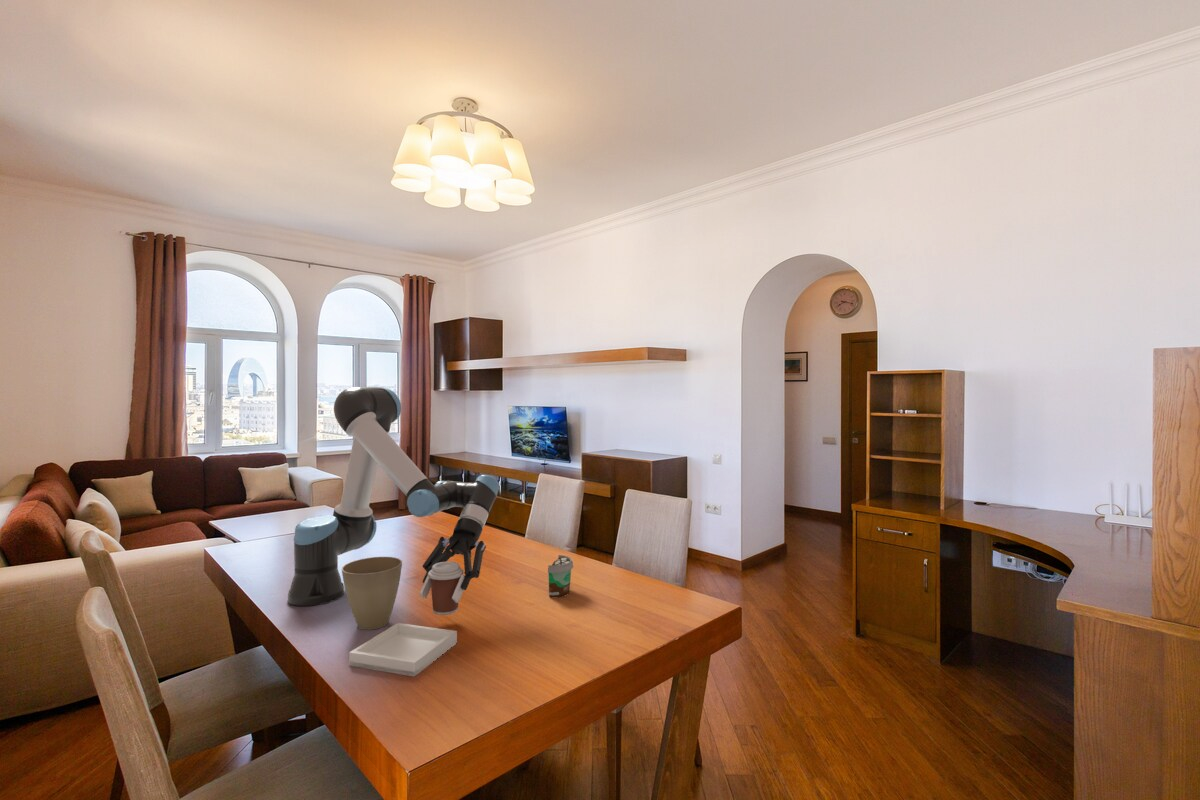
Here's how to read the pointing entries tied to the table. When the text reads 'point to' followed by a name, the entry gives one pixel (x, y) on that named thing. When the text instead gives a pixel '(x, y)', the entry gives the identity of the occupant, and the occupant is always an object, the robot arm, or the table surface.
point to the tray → (403, 649)
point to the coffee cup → (444, 586)
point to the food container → (560, 576)
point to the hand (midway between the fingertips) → (438, 598)
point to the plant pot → (372, 589)
